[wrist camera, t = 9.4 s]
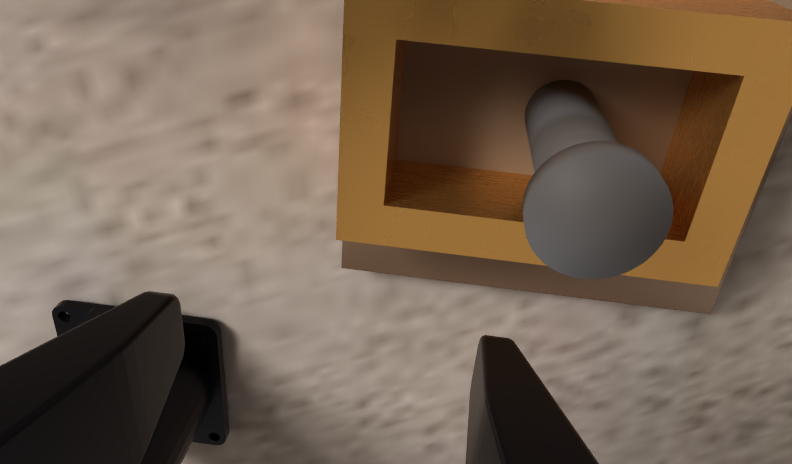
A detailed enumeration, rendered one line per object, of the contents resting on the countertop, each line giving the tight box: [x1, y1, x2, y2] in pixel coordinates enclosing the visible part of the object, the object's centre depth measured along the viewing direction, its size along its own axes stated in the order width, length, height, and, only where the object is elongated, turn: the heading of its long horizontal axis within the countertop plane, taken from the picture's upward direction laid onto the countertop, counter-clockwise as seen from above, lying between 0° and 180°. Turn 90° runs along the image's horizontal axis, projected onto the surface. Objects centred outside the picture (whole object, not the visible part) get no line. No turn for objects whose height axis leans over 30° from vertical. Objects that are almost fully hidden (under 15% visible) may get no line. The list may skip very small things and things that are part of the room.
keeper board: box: [342, 0, 792, 314], centre depth 15 cm, size 12×12×7 cm
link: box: [336, 0, 792, 287], centre depth 16 cm, size 7×10×3 cm, turn 86°
